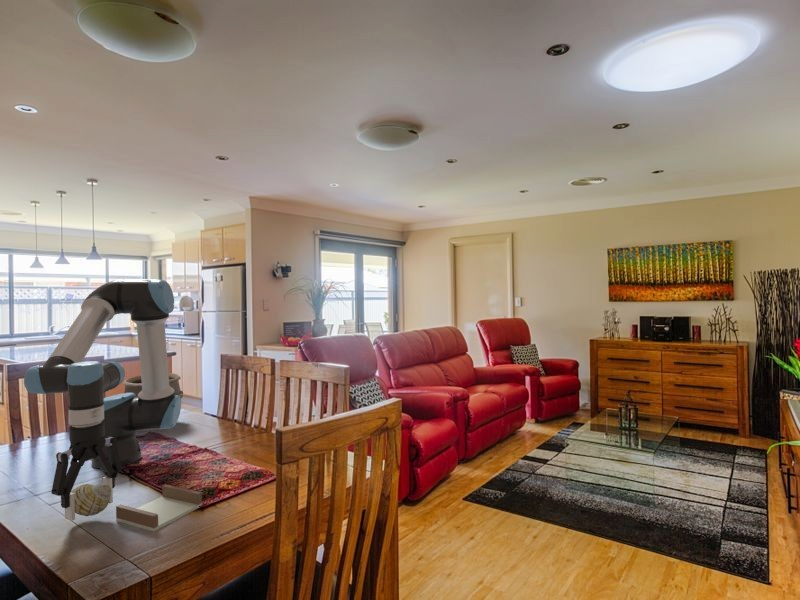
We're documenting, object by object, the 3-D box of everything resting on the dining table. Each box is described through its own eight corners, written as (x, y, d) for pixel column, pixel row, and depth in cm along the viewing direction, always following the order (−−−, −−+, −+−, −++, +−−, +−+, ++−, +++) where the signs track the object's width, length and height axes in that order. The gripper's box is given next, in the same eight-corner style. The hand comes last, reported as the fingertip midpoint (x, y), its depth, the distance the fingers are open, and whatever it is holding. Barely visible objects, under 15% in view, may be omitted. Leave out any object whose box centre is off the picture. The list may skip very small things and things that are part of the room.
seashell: (72, 501, 123) (91, 466, 124) (107, 515, 125) (125, 481, 125) (49, 518, 113) (69, 480, 114) (87, 533, 115) (107, 496, 115)
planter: (195, 422, 214) (195, 374, 214) (148, 436, 193) (148, 383, 192) (157, 416, 225) (157, 371, 224) (109, 429, 203) (108, 379, 203)
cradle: (116, 520, 121) (116, 506, 121) (166, 497, 135) (165, 484, 135) (154, 531, 115) (153, 516, 115) (201, 505, 129) (201, 492, 129)
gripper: (49, 438, 107) (52, 534, 108) (136, 413, 126) (138, 494, 127) (30, 434, 110) (33, 527, 111) (117, 410, 129) (120, 490, 130)
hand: (89, 510), depth 119 cm, fingers closed on seashell, 9 cm apart
